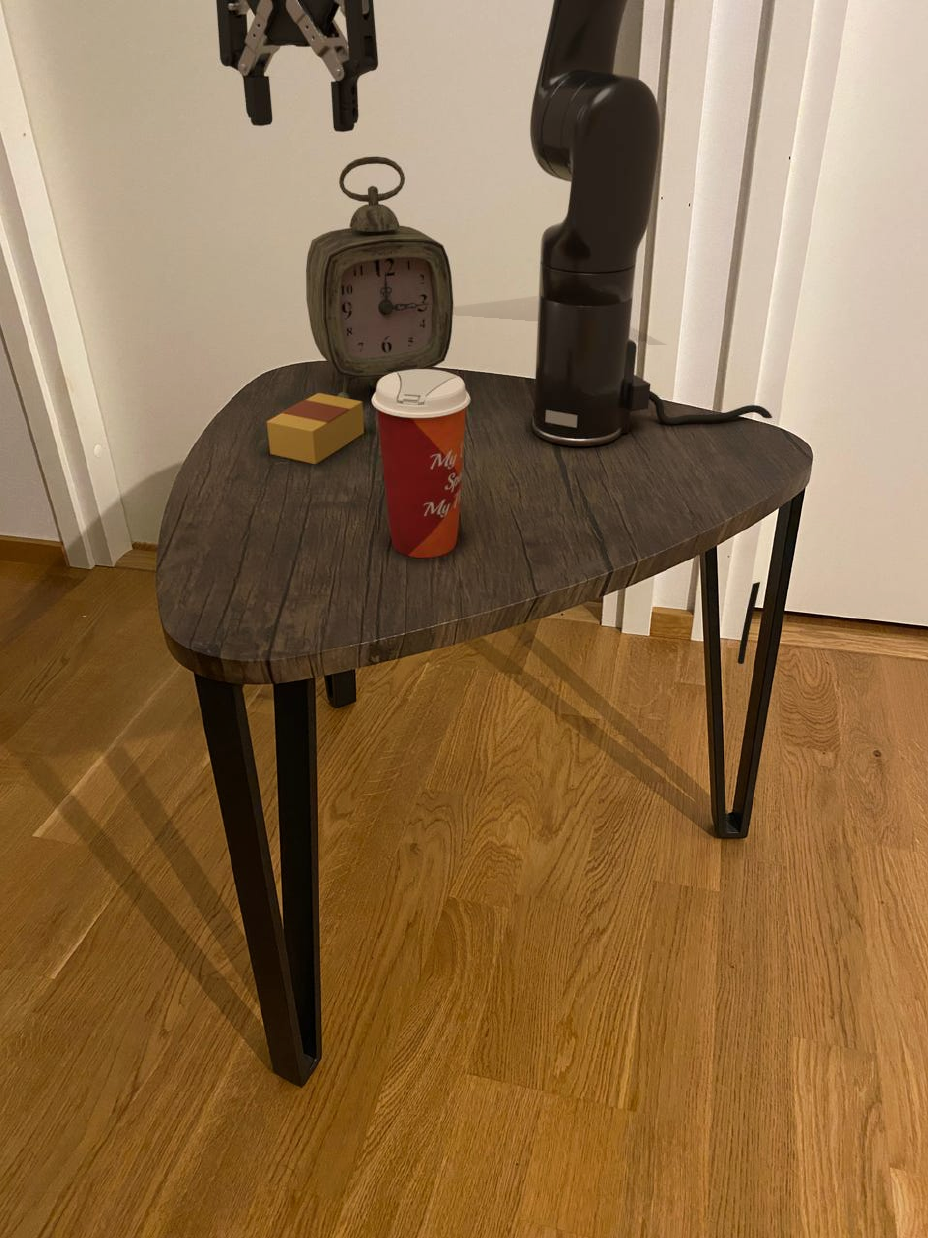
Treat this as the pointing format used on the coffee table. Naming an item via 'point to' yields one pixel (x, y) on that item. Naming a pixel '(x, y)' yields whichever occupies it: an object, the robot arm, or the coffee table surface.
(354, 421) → the tea packet
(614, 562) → the coffee table surface
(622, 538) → the coffee table surface
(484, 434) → the coffee table surface
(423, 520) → the paper cup
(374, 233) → the tabletop clock
